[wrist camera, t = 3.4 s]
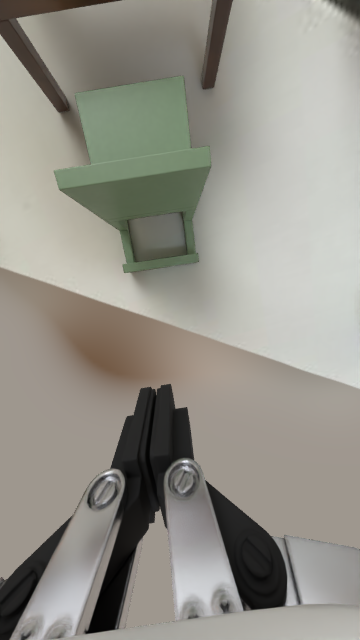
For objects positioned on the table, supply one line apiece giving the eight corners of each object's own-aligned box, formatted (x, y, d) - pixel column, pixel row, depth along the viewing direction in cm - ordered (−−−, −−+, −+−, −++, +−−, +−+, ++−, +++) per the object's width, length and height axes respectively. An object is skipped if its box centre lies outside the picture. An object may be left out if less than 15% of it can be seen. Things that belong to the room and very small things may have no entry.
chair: (181, 128, 20) (191, -95, 8) (196, 262, 24) (218, 256, 12) (102, 140, 20) (-13, -60, 8) (130, 272, 24) (83, 277, 12)
